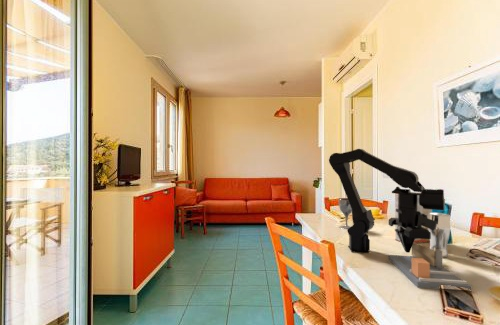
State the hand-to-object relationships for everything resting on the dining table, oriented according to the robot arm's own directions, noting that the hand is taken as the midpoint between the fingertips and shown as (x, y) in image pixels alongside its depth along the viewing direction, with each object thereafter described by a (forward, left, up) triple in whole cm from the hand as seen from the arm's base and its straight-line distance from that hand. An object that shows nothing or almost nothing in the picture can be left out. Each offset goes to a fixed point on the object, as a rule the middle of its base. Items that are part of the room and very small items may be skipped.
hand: (407, 252), depth 89 cm
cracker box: (+13, +26, -3) cm, 29 cm away
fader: (-3, -16, -1) cm, 17 cm away
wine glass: (-11, +45, -3) cm, 46 cm away
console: (+1, -10, -3) cm, 10 cm away
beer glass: (+14, +9, -3) cm, 17 cm away
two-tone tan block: (+3, -4, -1) cm, 5 cm away
